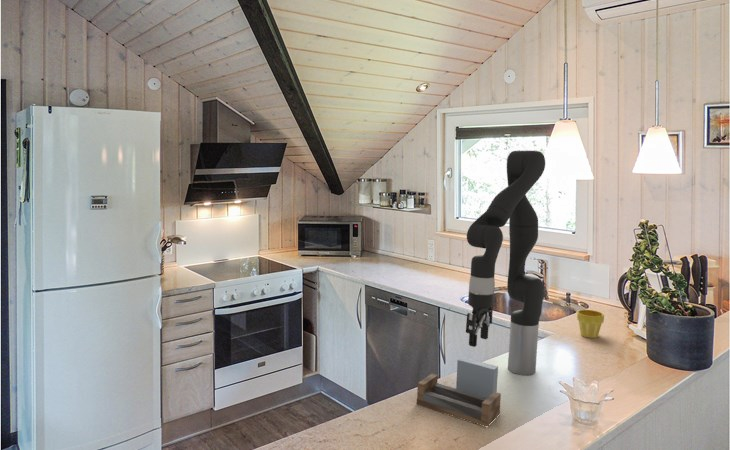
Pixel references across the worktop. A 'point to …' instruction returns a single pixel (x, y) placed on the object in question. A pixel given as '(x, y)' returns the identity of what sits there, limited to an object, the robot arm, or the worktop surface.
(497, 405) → the door track
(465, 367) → the light blue flat block
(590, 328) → the plant pot
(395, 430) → the worktop surface
